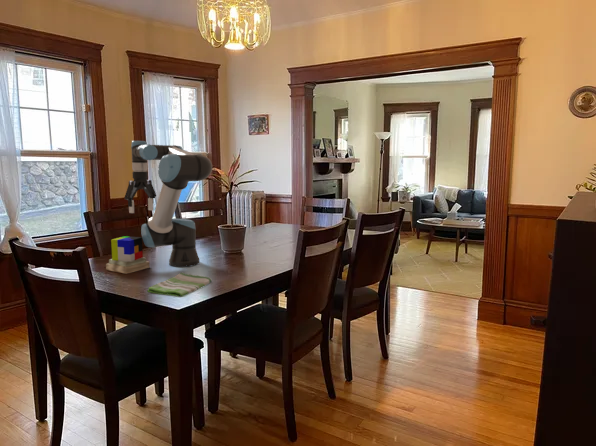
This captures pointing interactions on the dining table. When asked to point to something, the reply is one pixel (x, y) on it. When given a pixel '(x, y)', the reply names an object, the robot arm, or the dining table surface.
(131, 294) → the dining table surface
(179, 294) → the dish towel
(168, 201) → the robot arm
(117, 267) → the plinth
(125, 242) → the puzzle toy
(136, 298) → the dining table surface
